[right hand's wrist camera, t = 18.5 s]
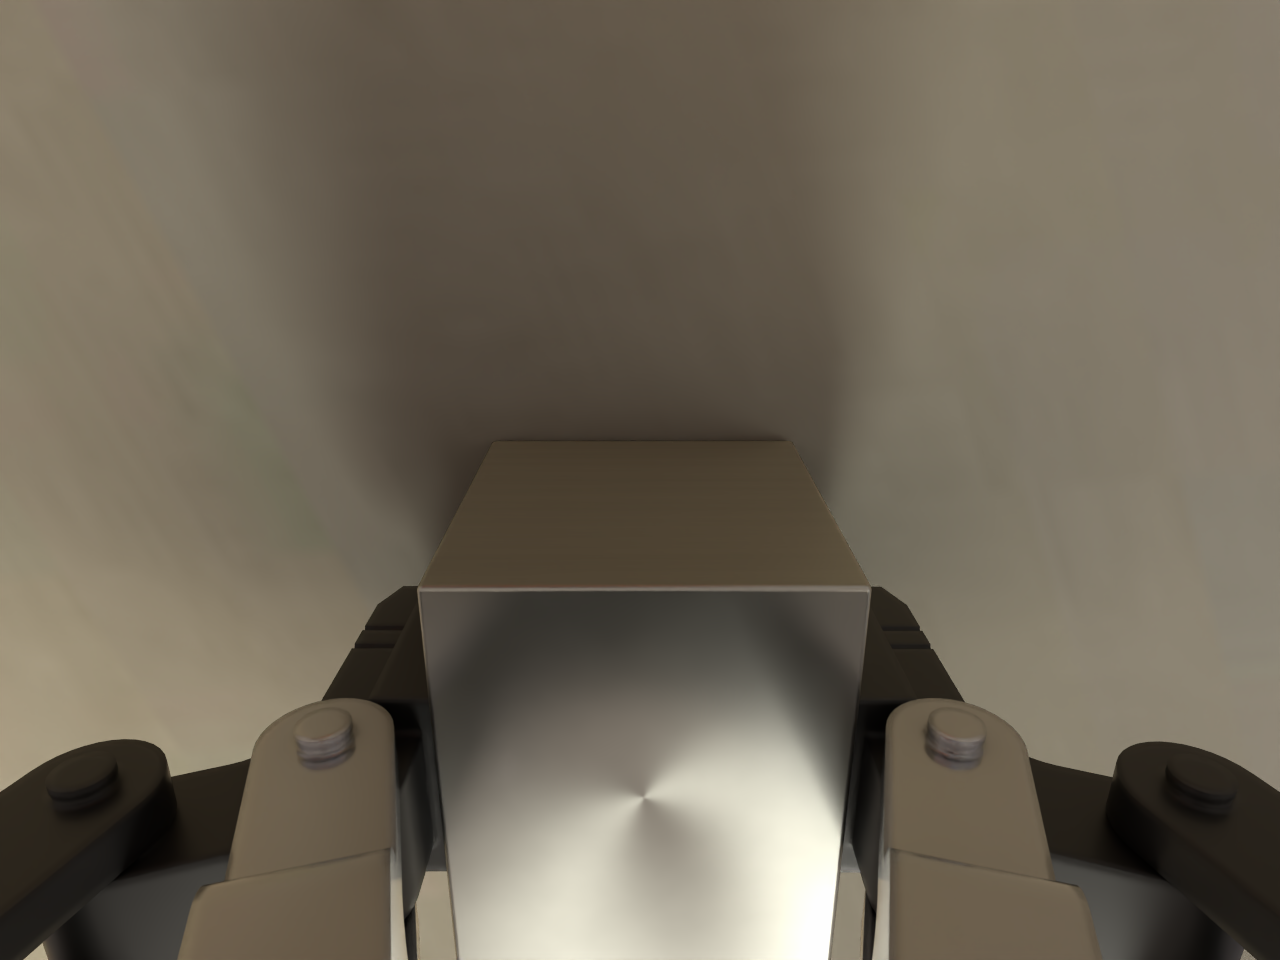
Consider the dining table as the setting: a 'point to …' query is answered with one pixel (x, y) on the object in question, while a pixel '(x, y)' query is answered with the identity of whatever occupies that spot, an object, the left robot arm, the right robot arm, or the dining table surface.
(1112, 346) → the dining table surface
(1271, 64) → the dining table surface
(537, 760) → the block
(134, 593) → the dining table surface
